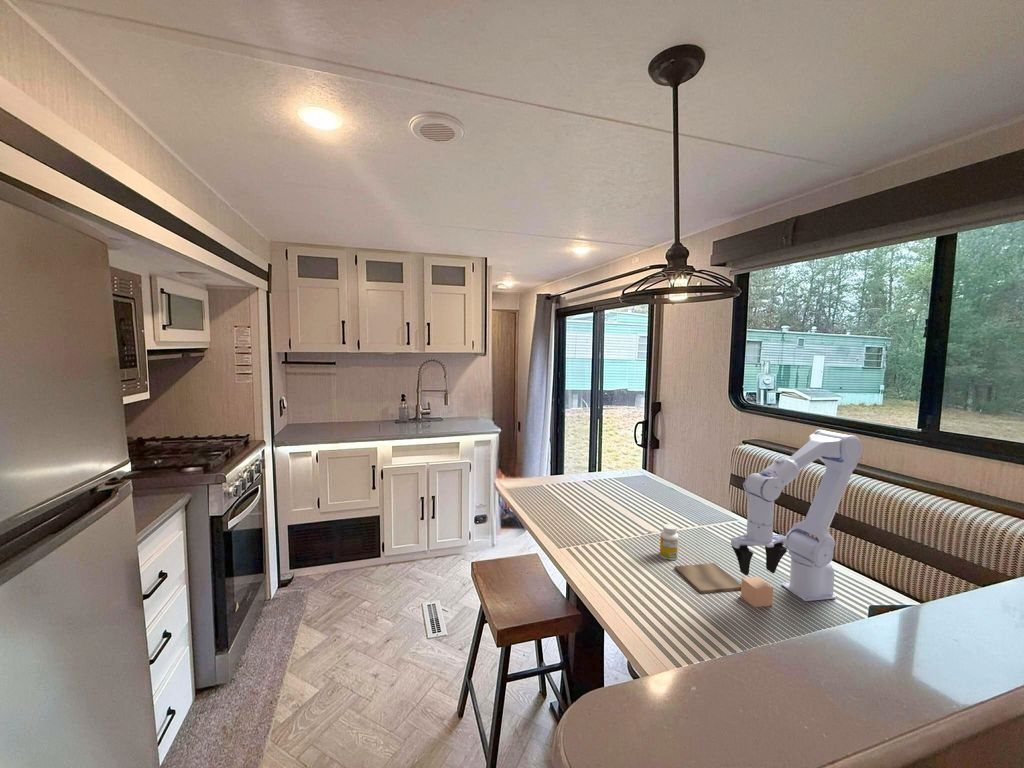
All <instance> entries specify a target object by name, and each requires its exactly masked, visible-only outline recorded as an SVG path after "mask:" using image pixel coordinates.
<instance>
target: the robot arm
mask: <svg viewBox="0 0 1024 768" xmlns="http://www.w3.org/2000/svg"><path fill="white" fill-rule="evenodd" d="M863 451H864V448H863V445H862V443H861V440H860V439H859V437H858V436H856V435H853V434H852V435H851V434H849V435H848V434H843V433H839V432H835V431H834V432H832V431H828V430H824V429H817V430H815V431H814V432H813V433H811V434H810V435H808V439H807V443H805V444H804V445H802V447H800V448H799V449H798V450H797V451H795V452H794V453H793V454H792V455H791V456H790V457H789V458H786V457H780V458H779V457H778V458H777V459H775V461H774V462H773V463H771V464H770V465H769V466H767V467H766V468H764V469H762V470H761V471H760V472H759V473H758V472H756V473H755V472H753V473H751V474H748V475H747V476H746V478H745V480H744V482H743V483H742V486H743V490H744V491H745V494H746V496H745V497H746V499H747V501H748V502H747V514H746V515H747V517H746V518H747V519H746V533H744V534H742V535H739V536H735V537H730V545H731V547H732V550H733V551H734V554H735V555H736V559H737V561H738V565H739V566H738V567H739V571H740V573H742V574H743V575H744V576H749V573H750V566H751V565H750V564H751V562H752V561H751V560H752V557H753V556H754V552H752V551H751V550H750V547H753V546H755V547H756V546H760V547H764V549H765V556H766V557H765V566H766V567H765V569H766V570H767V571H769V572H770V574H775V572H776V571H777V567H778V566H779V563H780V561H781V559H782V558H783V557H784V555H786V554H787V552H788V555H789V556H790V572H789V573H790V574H789V582H781V586H782V587H784V588H785V589H786V590H788V591H789V592H791V593H792V594H794V595H795V596H796V597H798V598H800V599H801V600H803V601H804V602H812V601H822V600H831V599H833V600H834V599H836V598H837V596H836V595H834V585H835V571H834V567H833V565H832V564H831V562H832V560H833V557H834V551H835V550H834V548H835V546H836V540H835V539H834V538H833V536H832V535H831V534H830V532H829V529H830V526H831V525H832V521H833V519H834V517H835V515H836V513H837V510H838V507H839V506H840V503H841V500H842V498H843V496H844V493H845V490H846V488H847V486H848V483H849V481H850V479H851V476H852V474H853V471H854V470H855V469H856V468H857V465H858V463H859V461H860V459H861V456H862V453H863ZM818 459H819V460H820V461H821V462H822V463H823V464H824V466H825V467H826V468H825V471H824V474H823V476H822V478H821V481H820V483H819V485H818V487H817V490H816V493H815V495H814V496H813V499H812V501H811V505H810V506H809V509H808V511H807V514H806V515H805V519H804V520H802V521H799V522H795V523H793V524H792V526H791V529H790V530H788V532H787V533H786V534H785V536H784V535H783V534H775V533H773V532H774V516H775V515H774V514H775V500H778V498H780V496H781V494H782V491H784V489H785V486H787V485H788V484H790V483H791V482H792V481H794V480H795V479H796V478H798V477H799V476H800V470H801V469H803V468H805V467H806V466H808V465H810V464H811V463H813V462H815V461H816V460H818Z"/></svg>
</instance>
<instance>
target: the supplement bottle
mask: <svg viewBox="0 0 1024 768" xmlns="http://www.w3.org/2000/svg"><path fill="white" fill-rule="evenodd" d="M677 528H678V527H677V526H676V525H674V524H670V523H666V524H663V526H662V531H661V532H660V540H659V541H660V542H659V555H660V557H662V558H663V559H665V560H669V561H675V560H678V558H679V546H680V545H679V543H680V542H679V540H680V539H679V534H678V533H677V531H678V529H677Z"/></svg>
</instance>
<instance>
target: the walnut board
mask: <svg viewBox="0 0 1024 768" xmlns="http://www.w3.org/2000/svg"><path fill="white" fill-rule="evenodd" d="M673 569H674V570H675V571H676V572H677V573H678V574H679V575H680V574H681V575H682V576H683V579H684V580H686V581H687V583H688V584H690V585H691V586H692V587H693V588H694V589H695V590H697V592H698V593H699V594H711V593H721V592H734V591H741V584H742V583H740V582H739V581H738V580H736V579H735V578H734V577H733V576H732V575H730V574H729V573H728V572H726V571H725V570H724V569H723V568H721V567H720V566H718V565H717V564H716V563H715V562H713V563H699V564H697V563H696V564H686V565H674V568H673ZM681 575H680V576H681ZM682 576H681V577H682Z"/></svg>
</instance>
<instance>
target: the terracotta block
mask: <svg viewBox="0 0 1024 768" xmlns="http://www.w3.org/2000/svg"><path fill="white" fill-rule="evenodd" d="M740 584H741V590H740V591H741V592H740V596H741V598H743V599H744V600H745V601H746V602H748V603H749V604H750V605H751V606H753V607H754V608H762V606H763V607H771V606H770V605H772V606H773V599H774V598H773V597H774V586H773V585H771V584H770V583H768V582H767V581H765V580H764V579H763V578H761V577H760V576H751V577H749V576H748V577H741V583H740Z"/></svg>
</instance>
